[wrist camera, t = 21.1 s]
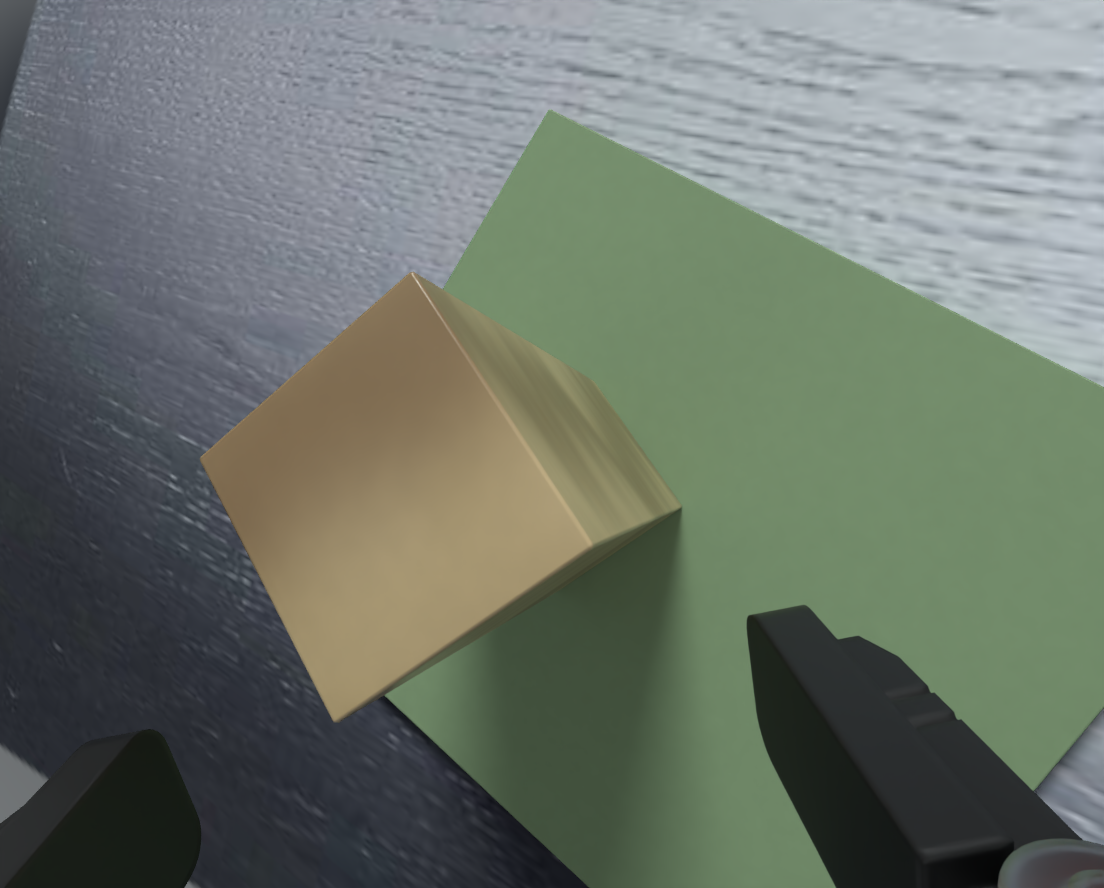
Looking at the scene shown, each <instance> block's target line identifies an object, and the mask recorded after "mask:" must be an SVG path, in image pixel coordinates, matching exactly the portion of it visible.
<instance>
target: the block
mask: <svg viewBox="0 0 1104 888" xmlns="http://www.w3.org/2000/svg"><path fill="white" fill-rule="evenodd" d="M200 461H201V463H202V465H203V467H204V469H205V471H206V473H207V475H208V477H209V479H210V481H211V483H212V485H213V487H214V489H215V491H216V493H217V495H218V497H219V499H220V501H221V503H222V505H223V507H224V508H225V510H226V512H227V514H228V516H229V518H230V520H231V522H232V524H233V526H234V528H235V530H236V532H237V534H238V536H239V538H240V540H241V542H242V544H243V546H244V548H245V550H246V552H247V554H248V556H249V558H250V559H251V561H252V563H253V565H254V567H255V569H256V571H257V573H258V575H259V577H260V579H261V581H262V583H263V585H264V587H265V589H266V591H267V593H268V595H269V597H270V599H271V601H272V603H273V605H274V607H275V609H276V610H277V612H278V614H279V616H280V618H281V620H282V622H283V624H284V626H285V628H286V630H287V632H288V634H289V636H290V638H291V640H292V642H293V644H294V646H295V648H296V650H297V652H298V654H299V656H300V658H301V659H302V661H303V663H304V665H305V667H306V669H307V671H308V673H309V675H310V677H311V679H312V681H313V683H314V685H315V687H316V689H317V691H318V693H319V695H320V697H321V699H322V701H323V703H324V705H325V707H326V709H327V710H328V712H329V714H330V716H331V718H332V720H333V721H334V722H335V723H336V722H340V721H342V720H343V719H345V718H347V717H348V716H350V715H352V714H353V713H355V712H357V711H358V710H360V709H362V708H363V707H365V706H367V705H369V704H370V703H372V702H374V701H375V700H377V699H379V698H380V697H382V696H384V695H385V694H387V693H389V692H390V691H392V690H394V689H395V688H397V687H399V686H400V685H402V684H404V683H405V682H407V681H409V680H410V679H412V678H414V677H415V676H417V675H419V674H420V673H422V672H424V671H425V670H427V669H429V668H430V667H432V666H434V665H435V664H437V663H439V662H440V661H442V660H444V659H445V658H447V657H449V656H451V655H452V654H454V653H456V652H457V651H459V650H461V649H462V648H464V647H466V646H467V645H469V644H471V643H472V642H474V641H476V640H477V639H479V638H481V637H482V636H484V635H486V634H487V633H489V632H491V631H492V630H494V629H496V628H497V627H499V626H501V625H502V624H504V623H506V622H507V621H509V620H511V619H512V618H514V617H516V616H517V615H519V614H521V613H522V612H524V611H526V610H527V609H529V608H531V607H533V606H534V605H536V604H538V603H539V602H541V601H543V600H544V599H546V598H548V597H549V596H551V595H553V594H554V593H556V592H558V591H559V590H561V589H562V588H564V587H565V586H567V585H568V584H570V583H571V582H572V581H574V580H575V579H577V578H578V577H580V576H581V575H583V574H584V573H586V572H587V571H589V570H590V569H592V568H593V567H595V566H596V565H598V564H599V563H601V562H602V561H604V560H605V559H607V558H608V557H610V556H611V555H613V554H614V553H616V552H617V551H618V550H620V549H621V548H623V547H624V546H626V545H627V544H629V543H630V542H632V541H633V540H635V539H636V538H638V537H639V536H641V535H642V534H644V533H645V532H647V531H648V530H650V529H651V528H653V527H654V526H656V525H657V524H659V523H660V522H662V521H663V520H664V519H666V518H667V517H669V516H670V515H672V514H673V513H675V512H676V511H678V510H679V509H681V508H682V505H681V504H680V502H679V501H678V500H677V498H676V497H675V495H674V494H673V492H672V491H671V490H670V488H669V487H668V485H667V484H666V482H665V481H664V480H663V478H662V477H661V475H660V474H659V473H658V471H657V470H656V468H655V467H654V465H653V464H652V463H651V461H650V460H649V458H648V457H647V456H646V454H645V453H644V451H643V450H642V448H641V447H640V446H639V444H638V443H637V441H636V440H635V439H634V437H633V436H632V434H631V433H630V431H629V430H628V429H627V427H626V426H625V424H624V423H623V422H622V420H621V419H620V417H619V416H618V414H617V413H616V412H615V410H614V409H613V407H612V406H611V405H610V403H609V402H608V400H607V399H606V397H605V396H604V395H603V393H602V392H601V390H600V389H599V388H598V386H597V385H596V383H595V382H594V381H593V380H591V379H590V378H588V377H586V376H585V375H583V374H581V373H580V372H578V371H576V370H575V369H573V368H571V367H570V366H568V365H566V364H565V363H563V362H561V361H560V360H558V359H557V358H555V357H553V356H552V355H550V354H548V353H547V352H545V351H543V350H542V349H540V348H538V347H537V346H535V345H533V344H532V343H530V342H528V341H527V340H525V339H524V338H522V337H520V336H519V335H517V334H515V333H514V332H512V331H510V330H509V329H507V328H505V327H504V326H502V325H500V324H499V323H497V322H495V321H494V320H492V319H491V318H489V317H487V316H486V315H484V314H482V313H481V312H479V311H477V310H476V309H474V308H472V307H471V306H469V305H467V304H466V303H464V302H462V301H461V300H459V299H457V298H456V297H454V296H453V295H451V294H449V293H448V292H446V291H444V290H443V289H441V288H439V287H438V286H436V285H434V284H433V283H431V282H429V281H428V280H426V279H424V278H423V277H421V276H420V275H418V274H416V273H415V272H410V273H409V274H408V275H406V276H405V277H404V278H403V279H402V280H401V281H400V282H399V283H397V284H396V285H395V286H394V287H393V288H392V289H391V290H389V291H388V292H387V293H386V294H385V295H384V296H383V297H382V298H380V299H379V300H378V301H377V302H376V303H375V304H374V305H372V306H371V307H370V308H369V309H368V310H367V311H366V312H365V313H363V314H362V315H361V316H360V317H359V318H358V319H357V320H355V321H354V322H353V323H352V324H351V325H350V326H349V327H348V328H346V329H345V330H344V331H343V332H342V333H341V334H340V335H338V336H337V337H336V338H335V339H334V340H333V341H332V342H331V343H329V344H328V345H327V346H326V347H325V348H324V349H323V350H321V351H320V352H319V353H318V354H317V355H316V356H315V357H314V358H312V359H311V360H310V361H309V362H308V363H307V364H306V365H304V366H303V367H302V368H301V369H300V370H299V371H298V372H297V373H295V374H294V375H293V376H292V377H291V378H290V379H289V380H287V381H286V382H285V383H284V384H283V385H282V386H281V387H280V388H278V389H277V390H276V391H275V392H274V393H273V394H272V395H270V396H269V397H268V398H267V399H266V400H265V401H264V402H263V403H261V404H260V405H259V406H258V407H257V408H256V409H255V410H253V411H252V412H251V413H250V414H249V415H248V416H247V417H245V418H244V419H243V420H242V421H241V422H240V423H239V424H238V425H236V426H235V427H234V428H233V429H232V430H231V431H230V432H228V433H227V434H226V435H225V436H224V437H223V438H222V439H221V440H219V441H218V442H217V443H216V444H215V445H214V446H213V447H211V448H210V449H209V450H208V451H207V452H206V453H205V454H204V455H202V456H201V458H200Z"/></svg>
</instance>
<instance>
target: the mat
mask: <svg viewBox="0 0 1104 888" xmlns="http://www.w3.org/2000/svg"><path fill="white" fill-rule="evenodd" d="M443 290H444V291H446V292H448V293H449V294H451V295H453V296H454V297H456V298H457V299H459V300H461V301H462V302H464V303H466V304H467V305H469V306H471V307H472V308H474V309H476V310H477V311H479V312H481V313H482V314H484V315H486V316H487V317H489V318H491V319H492V320H494V321H495V322H497V323H499V324H500V325H502V326H504V327H505V328H507V329H509V330H510V331H512V332H514V333H515V334H517V335H519V336H520V337H522V338H524V339H525V340H527V341H528V342H530V343H532V344H533V345H535V346H537V347H538V348H540V349H542V350H543V351H545V352H547V353H548V354H550V355H552V356H553V357H555V358H557V359H558V360H560V361H561V362H563V363H565V364H566V365H568V366H570V367H571V368H573V369H575V370H576V371H578V372H580V373H581V374H583V375H585V376H586V377H588V378H590V379H591V380H593V381H594V382H595V383H596V385H597V386H598V388H599V389H600V390H601V392H602V393H603V395H604V396H605V397H606V399H607V400H608V402H609V403H610V405H611V406H612V407H613V409H614V410H615V412H616V413H617V414H618V416H619V417H620V419H621V420H622V422H623V423H624V424H625V426H626V427H627V429H628V430H629V431H630V433H631V434H632V436H633V437H634V439H635V440H636V441H637V443H638V444H639V446H640V447H641V448H642V450H643V451H644V453H645V454H646V456H647V457H648V458H649V460H650V461H651V463H652V464H653V465H654V467H655V468H656V470H657V471H658V473H659V474H660V475H661V477H662V478H663V480H664V481H665V482H666V484H667V485H668V487H669V488H670V490H671V491H672V492H673V494H674V495H675V497H676V498H677V500H678V501H679V502H680V504H681V505H682V508H681V509H679V510H678V511H676V512H675V513H673V514H672V515H670V516H669V517H667V518H666V519H664V520H663V521H662V522H660V523H659V524H657V525H656V526H654V527H653V528H651V529H650V530H648V531H647V532H645V533H644V534H642V535H641V536H639V537H638V538H636V539H635V540H633V541H632V542H630V543H629V544H627V545H626V546H624V547H623V548H621V549H620V550H618V551H617V552H616V553H614V554H613V555H611V556H610V557H608V558H607V559H605V560H604V561H602V562H601V563H599V564H598V565H596V566H595V567H593V568H592V569H590V570H589V571H587V572H586V573H584V574H583V575H581V576H580V577H578V578H577V579H575V580H574V581H572V582H571V583H570V584H568V585H567V586H565V587H564V588H562V589H561V590H559V591H558V592H556V593H554V594H553V595H551V596H549V597H548V598H546V599H544V600H543V601H541V602H539V603H538V604H536V605H534V606H533V607H531V608H529V609H527V610H526V611H524V612H522V613H521V614H519V615H517V616H516V617H514V618H512V619H511V620H509V621H507V622H506V623H504V624H502V625H501V626H499V627H497V628H496V629H494V630H492V631H491V632H489V633H487V634H486V635H484V636H482V637H481V638H479V639H477V640H476V641H474V642H472V643H471V644H469V645H467V646H466V647H464V648H462V649H461V650H459V651H457V652H456V653H454V654H452V655H451V656H449V657H447V658H445V659H444V660H442V661H440V662H439V663H437V664H435V665H434V666H432V667H430V668H429V669H427V670H425V671H424V672H422V673H420V674H419V675H417V676H415V677H414V678H412V679H410V680H409V681H407V682H405V683H404V684H402V685H400V686H399V687H397V688H395V689H394V690H392V691H390V692H389V693H387V694H385V695H384V696H385V697H386V698H388V699H389V700H390V701H391V702H392V703H393V704H394V705H395V706H396V707H397V708H398V709H399V710H400V711H401V712H402V713H404V714H405V715H406V716H407V717H408V718H409V719H410V720H411V721H412V722H413V723H414V724H415V725H416V726H417V727H418V728H420V729H421V730H422V731H423V732H424V733H425V734H426V735H427V736H428V737H429V738H430V739H431V740H432V741H433V742H434V743H435V744H437V745H438V746H439V747H440V748H441V749H442V750H443V751H444V752H445V753H446V754H447V755H448V756H449V757H450V758H451V759H453V760H454V761H455V762H456V763H457V764H458V765H459V766H460V767H461V768H462V769H463V770H464V771H465V772H466V773H467V774H469V775H470V776H471V777H472V778H473V779H474V780H475V781H476V782H477V783H478V784H479V785H480V786H481V787H482V788H483V789H485V790H486V791H487V792H488V793H489V794H490V795H491V796H492V797H493V798H494V799H495V800H496V801H497V802H498V803H499V804H501V805H502V806H503V807H504V808H505V809H506V810H507V811H508V812H509V813H510V814H511V815H512V816H513V817H514V818H515V819H517V820H518V821H519V822H520V823H521V824H522V825H523V826H524V827H525V828H526V829H527V830H528V831H529V832H530V833H531V834H533V835H534V836H535V837H536V838H537V839H538V840H539V841H540V842H541V843H542V844H543V845H544V846H545V847H546V848H547V849H549V850H550V851H551V852H552V853H553V854H554V855H555V856H556V857H557V858H558V859H559V860H560V861H561V862H562V863H563V864H565V865H566V866H567V867H568V868H569V869H570V870H571V871H572V872H573V873H574V874H575V875H576V876H577V877H578V878H579V879H580V880H582V881H583V882H584V883H585V884H586V885H587V886H588V887H589V888H836V887H835V885H834V883H833V881H832V879H831V877H830V875H829V873H828V871H827V869H826V867H825V866H824V864H823V862H822V860H821V858H820V856H819V854H818V852H817V850H816V848H815V846H814V844H813V842H812V840H811V838H810V836H809V834H808V833H807V831H806V829H805V827H804V825H803V823H802V821H801V819H800V817H799V815H798V813H797V811H796V809H795V807H794V805H793V803H792V801H791V800H790V798H789V796H788V794H787V792H786V790H785V788H784V786H783V784H782V782H781V780H780V778H779V776H778V774H777V772H776V770H775V768H774V766H773V764H772V762H771V760H770V758H769V755H768V753H767V750H766V747H765V744H764V742H763V738H762V735H761V731H760V728H759V723H758V719H757V713H756V705H755V697H754V688H753V680H752V672H751V663H750V655H749V646H748V638H747V628H746V623H747V617H748V616H749V615H752V614H758V613H763V612H768V611H773V610H778V609H784V608H789V607H794V606H799V605H806V606H808V607H809V608H810V609H811V610H812V611H813V612H814V613H815V614H816V615H817V617H818V618H819V619H820V620H821V621H822V622H823V623H824V625H825V626H826V627H827V628H828V629H829V630H830V631H831V633H832V634H833V635H834V636H835V637H836V638H837V639H843V638H848V637H853V636H860V637H862V638H864V639H866V640H868V641H870V642H872V643H874V644H876V645H878V646H879V647H881V648H883V649H885V650H887V651H889V652H891V653H893V654H895V655H897V656H899V657H900V658H901V659H902V660H903V661H904V662H905V663H906V664H907V665H908V666H909V667H910V668H911V669H912V670H913V671H914V672H915V673H916V674H917V675H918V676H919V677H920V678H921V679H922V680H923V681H924V682H925V683H926V684H927V685H928V687H929V690H930V692H931V693H934V692H935V693H936V694H937V695H938V696H939V697H940V698H941V699H942V700H943V701H944V702H945V703H946V704H947V705H948V706H949V707H950V708H951V709H952V710H953V711H954V713H955V716H956V718H957V720H960V719H962V720H963V721H964V722H965V723H966V724H967V725H968V726H969V727H970V728H971V729H972V730H973V731H974V732H975V733H976V734H977V735H978V736H979V737H980V738H981V739H982V740H983V741H984V742H985V743H986V744H987V745H988V746H989V747H990V748H991V749H992V750H993V751H994V752H995V753H996V754H997V755H998V756H999V757H1000V758H1001V759H1002V760H1003V761H1004V762H1005V763H1006V764H1007V765H1008V766H1009V767H1010V768H1011V769H1012V770H1013V771H1014V772H1015V773H1016V774H1017V775H1018V776H1019V777H1020V778H1021V779H1022V780H1023V781H1024V782H1025V783H1026V784H1027V785H1028V786H1029V787H1030V788H1031V789H1032V790H1033V791H1035V789H1036V788H1037V787H1038V786H1039V785H1040V783H1041V782H1042V781H1043V780H1044V779H1045V777H1046V776H1047V775H1048V774H1049V773H1050V771H1051V770H1052V769H1053V768H1054V767H1055V765H1056V764H1057V763H1058V762H1059V761H1060V759H1061V758H1062V757H1063V756H1064V755H1065V754H1066V752H1067V751H1068V750H1069V749H1070V748H1071V746H1072V745H1073V744H1074V743H1075V742H1076V740H1077V739H1078V738H1079V737H1080V736H1081V734H1082V733H1083V732H1084V731H1085V730H1086V728H1087V727H1088V726H1089V725H1090V724H1091V722H1092V721H1093V720H1094V719H1095V718H1096V717H1097V715H1098V714H1099V713H1100V712H1101V711H1102V709H1103V708H1104V387H1102V386H1100V385H1098V384H1096V383H1094V382H1093V381H1091V380H1089V379H1087V378H1085V377H1083V376H1081V375H1079V374H1077V373H1075V372H1073V371H1071V370H1069V369H1067V368H1065V367H1063V366H1061V365H1059V364H1057V363H1055V362H1053V361H1051V360H1049V359H1047V358H1045V357H1043V356H1041V355H1039V354H1037V353H1035V352H1033V351H1031V350H1029V349H1027V348H1025V347H1023V346H1021V345H1019V344H1017V343H1015V342H1013V341H1011V340H1009V339H1007V338H1005V337H1003V336H1001V335H999V334H997V333H995V332H993V331H991V330H989V329H987V328H985V327H983V326H981V325H979V324H977V323H975V322H973V321H971V320H969V319H967V318H965V317H963V316H961V315H959V314H957V313H955V312H953V311H951V310H949V309H947V308H945V307H943V306H941V305H939V304H937V303H935V302H933V301H931V300H929V299H927V298H925V297H923V296H921V295H919V294H917V293H915V292H913V291H911V290H909V289H907V288H905V287H903V286H901V285H899V284H897V283H895V282H893V281H891V280H889V279H887V278H885V277H883V276H881V275H879V274H877V273H875V272H873V271H871V270H869V269H867V268H865V267H863V266H861V265H859V264H857V263H855V262H853V261H851V260H849V259H847V258H845V257H843V256H841V255H839V254H837V253H835V252H833V251H831V250H829V249H827V248H825V247H823V246H821V245H820V244H818V243H816V242H814V241H812V240H810V239H808V238H806V237H804V236H802V235H800V234H798V233H796V232H794V231H792V230H790V229H788V228H786V227H784V226H782V225H780V224H778V223H776V222H774V221H772V220H770V219H768V218H766V217H764V216H762V215H760V214H758V213H756V212H754V211H752V210H750V209H748V208H746V207H744V206H742V205H740V204H738V203H736V202H734V201H732V200H730V199H728V198H726V197H724V196H722V195H720V194H718V193H716V192H714V191H712V190H710V189H708V188H706V187H704V186H702V185H700V184H698V183H696V182H694V181H692V180H690V179H688V178H686V177H684V176H682V175H680V174H678V173H676V172H674V171H672V170H670V169H668V168H666V167H664V166H662V165H660V164H658V163H656V162H654V161H652V160H650V159H648V158H646V157H644V156H642V155H640V154H638V153H636V152H634V151H632V150H630V149H628V148H626V147H624V146H622V145H620V144H618V143H616V142H614V141H612V140H610V139H608V138H606V137H604V136H602V135H600V134H598V133H596V132H594V131H592V130H590V129H588V128H586V127H584V126H582V125H580V124H578V123H576V122H574V121H572V120H570V119H568V118H566V117H564V116H562V115H560V114H558V113H556V112H554V111H552V110H548V112H547V114H546V115H545V117H544V119H543V120H542V122H541V124H540V126H539V127H538V129H537V131H536V132H535V134H534V136H533V137H532V139H531V141H530V142H529V144H528V146H527V147H526V149H525V151H524V153H523V154H522V156H521V158H520V159H519V161H518V163H517V164H516V166H515V168H514V169H513V171H512V173H511V175H510V176H509V178H508V180H507V181H506V183H505V185H504V186H503V188H502V190H501V191H500V193H499V195H498V197H497V198H496V200H495V202H494V203H493V205H492V207H491V208H490V210H489V212H488V213H487V215H486V217H485V219H484V220H483V222H482V224H481V225H480V227H479V229H478V230H477V232H476V234H475V235H474V237H473V239H472V241H471V242H470V244H469V246H468V247H467V249H466V251H465V252H464V254H463V256H462V257H461V259H460V261H459V263H458V264H457V266H456V268H455V269H454V271H453V273H452V274H451V276H450V278H449V279H448V281H447V283H446V285H445V286H444V288H443Z"/></svg>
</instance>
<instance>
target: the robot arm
mask: <svg viewBox="0 0 1104 888" xmlns="http://www.w3.org/2000/svg"><path fill="white" fill-rule="evenodd" d="M746 628H747V638H748V646H749V655H750V663H751V672H752V680H753V688H754V697H755V705H756V713H757V719H758V723H759V728H760V731H761V735H762V738H763V742H764V744H765V747H766V750H767V753H768V755H769V758H770V760H771V762H772V764H773V766H774V768H775V770H776V772H777V774H778V776H779V778H780V780H781V782H782V784H783V786H784V788H785V790H786V792H787V794H788V796H789V798H790V800H791V801H792V803H793V805H794V807H795V809H796V811H797V813H798V815H799V817H800V819H801V821H802V823H803V825H804V827H805V829H806V831H807V833H808V834H809V836H810V838H811V840H812V842H813V844H814V846H815V848H816V850H817V852H818V854H819V856H820V858H821V860H822V862H823V864H824V866H825V867H826V869H827V871H828V873H829V875H830V877H831V879H832V881H833V883H834V885H835V887H836V888H1104V845H1101V844H1097V843H1093V842H1089V841H1083V840H1082V839H1081V838H1080V837H1079V836H1078V835H1077V834H1076V833H1075V832H1074V831H1073V830H1072V829H1071V828H1070V827H1069V826H1068V825H1067V824H1066V823H1065V822H1064V821H1063V820H1062V819H1061V818H1060V817H1059V816H1058V815H1057V814H1056V813H1055V812H1054V811H1053V810H1052V809H1051V808H1050V807H1049V806H1048V805H1047V804H1046V803H1045V802H1044V801H1043V800H1042V799H1041V798H1040V797H1039V796H1038V795H1037V794H1036V793H1035V792H1034V791H1033V790H1032V789H1031V788H1030V787H1029V786H1028V785H1027V784H1026V783H1025V782H1024V781H1023V780H1022V779H1021V778H1020V777H1019V776H1018V775H1017V774H1016V773H1015V772H1014V771H1013V770H1012V769H1011V768H1010V767H1009V766H1008V765H1007V764H1006V763H1005V762H1004V761H1003V760H1002V759H1001V758H1000V757H999V756H998V755H997V754H996V753H995V752H994V751H993V750H992V749H991V748H990V747H989V746H988V745H987V744H986V743H985V742H984V741H983V740H982V739H981V738H980V737H979V736H978V735H977V734H976V733H975V732H974V731H973V730H972V729H971V728H970V727H969V726H968V725H967V724H966V723H965V722H964V721H963V720H962V719H960V720H957V718H956V716H955V713H954V711H953V710H952V709H951V708H950V707H949V706H948V705H947V704H946V703H945V702H944V701H943V700H942V699H941V698H940V697H939V696H938V695H937V694H936V693H935V692H934V693H931V692H930V690H929V687H928V685H927V684H926V683H925V682H924V681H923V680H922V679H921V678H920V677H919V676H918V675H917V674H916V673H915V672H914V671H913V670H912V669H911V668H910V667H909V666H908V665H907V664H906V663H905V662H904V661H903V660H902V659H901V658H900V657H899V656H897V655H895V654H893V653H891V652H889V651H887V650H885V649H883V648H881V647H879V646H878V645H876V644H874V643H872V642H870V641H868V640H866V639H864V638H862V637H860V636H853V637H848V638H843V639H837V638H836V637H835V636H834V635H833V634H832V633H831V631H830V630H829V629H828V628H827V627H826V626H825V625H824V623H823V622H822V621H821V620H820V619H819V618H818V617H817V615H816V614H815V613H814V612H813V611H812V610H811V609H810V608H809V607H808V606H806V605H799V606H794V607H789V608H784V609H778V610H773V611H768V612H763V613H758V614H752V615H749V616H748V617H747V623H746ZM200 845H201V826H200V821H199V818H198V815H197V812H196V810H195V808H194V805H193V803H192V801H191V798H190V796H189V794H188V791H187V789H186V786H185V784H184V782H183V779H182V777H181V775H180V772H179V770H178V768H177V765H176V763H175V761H174V758H173V756H172V754H171V751H170V749H169V746H168V744H167V742H166V740H165V738H164V737H163V736H162V735H161V734H160V733H159V732H157V731H155V730H151V729H148V730H142V731H137V732H132V733H126V734H121V735H116V736H111V737H106V738H101V739H95V740H91V741H89V742H87V743H85V744H83V745H82V746H81V747H80V748H78V749H77V750H76V751H75V752H74V753H73V754H72V756H71V757H70V758H69V759H68V760H67V761H66V762H65V763H64V764H63V765H62V766H61V767H60V768H59V769H58V770H57V771H56V772H55V773H54V774H53V775H52V776H51V778H50V779H49V780H48V781H47V782H46V783H45V784H44V785H43V786H42V787H41V788H40V789H39V790H38V791H37V792H36V793H35V794H34V795H33V797H32V798H31V799H30V800H29V801H28V802H27V803H26V804H25V805H24V806H23V807H21V808H20V809H19V810H17V811H16V812H15V813H13V814H12V815H11V816H10V817H9V818H7V819H6V820H4V821H3V822H2V823H0V888H184V887H185V886H186V884H187V882H188V880H189V879H190V877H191V875H192V873H193V871H194V868H195V866H196V863H197V860H198V856H199V851H200Z"/></svg>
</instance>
